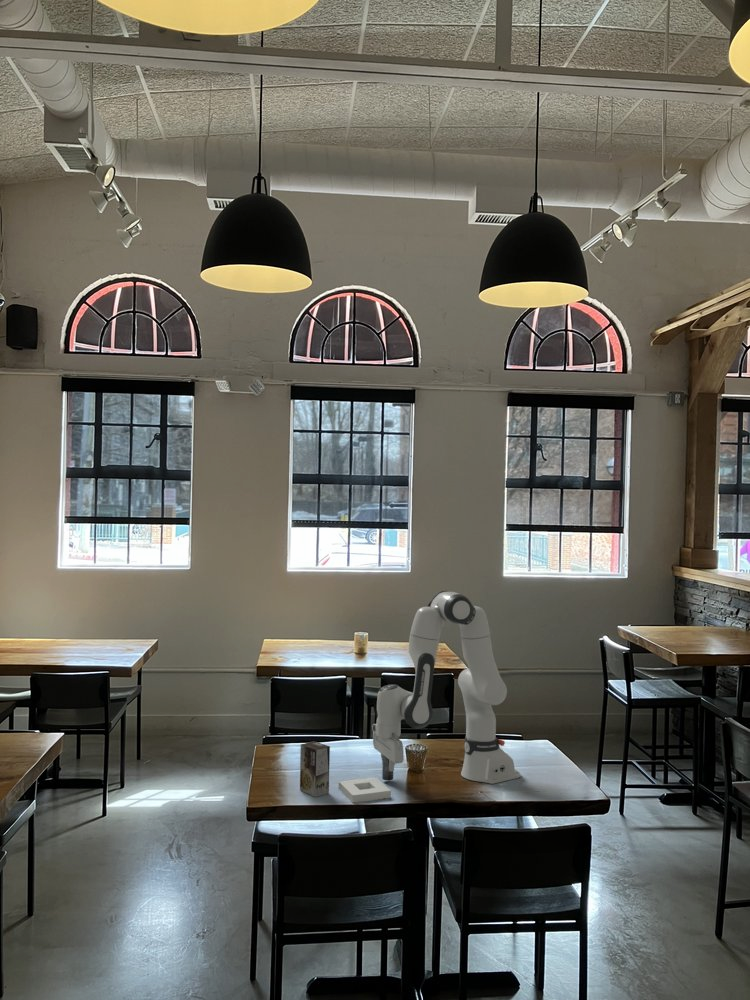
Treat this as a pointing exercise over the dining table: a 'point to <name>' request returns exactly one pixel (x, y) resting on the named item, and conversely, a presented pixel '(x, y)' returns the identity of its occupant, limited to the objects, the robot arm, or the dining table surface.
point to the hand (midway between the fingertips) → (388, 768)
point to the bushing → (386, 770)
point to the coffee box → (314, 768)
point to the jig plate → (364, 789)
